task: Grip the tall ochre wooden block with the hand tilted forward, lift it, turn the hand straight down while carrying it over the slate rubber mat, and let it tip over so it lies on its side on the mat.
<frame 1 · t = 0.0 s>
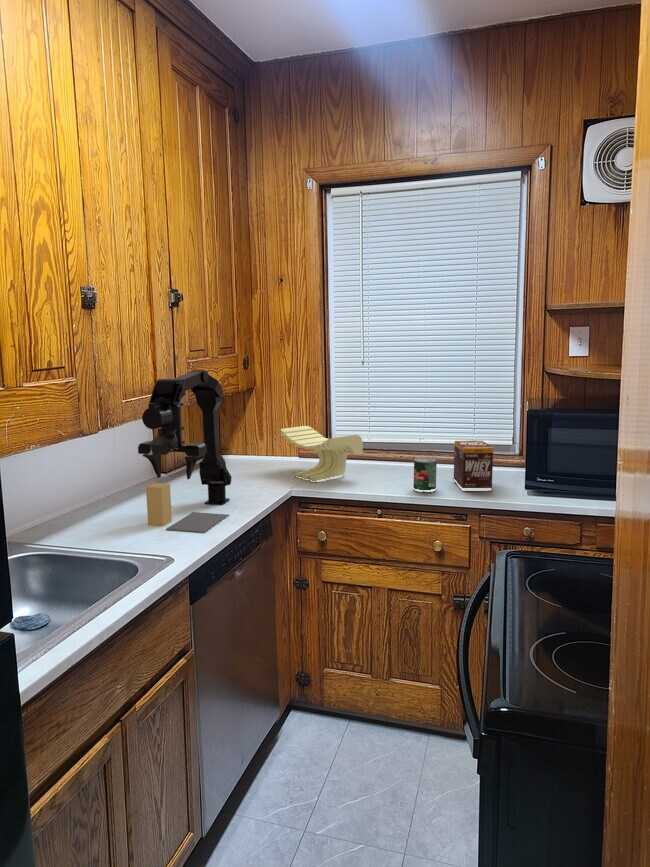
hand: (173, 478, 178), 15 cm above the worktop, tool pointing down, fingers open, 9 cm apart
slatted curved stool: (320, 477, 242), on the worktop
supplement box: (472, 487, 225), on the worktop
canned tomato: (424, 490, 220), on the worktop
ochre block: (160, 523, 185), on the worktop
slate mat: (198, 522, 185), on the worktop
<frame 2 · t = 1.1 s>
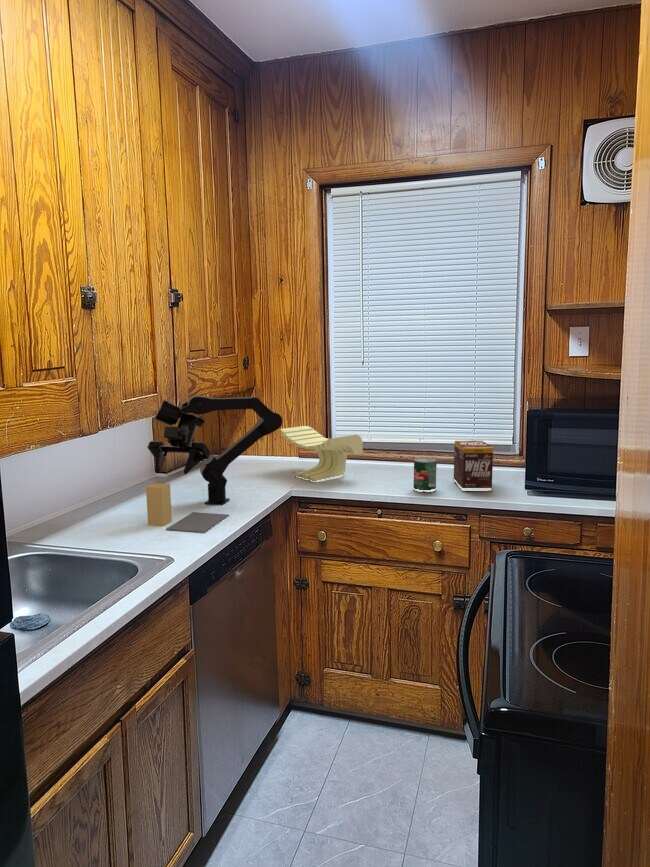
hand: (170, 473, 190), 13 cm above the worktop, tool tilted 45°, fingers open, 9 cm apart
nothing on the worktop moved.
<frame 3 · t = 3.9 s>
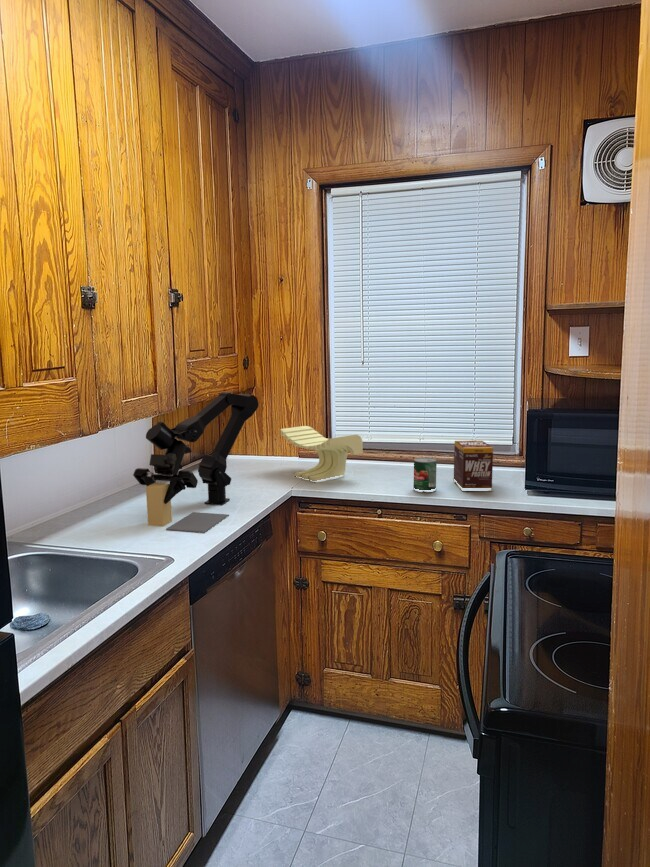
hand: (156, 502, 182), 7 cm above the worktop, tool tilted 45°, fingers closed on ochre block, 5 cm apart
ochre block: (160, 523, 185), on the worktop, touching gripper
everything else where it was.
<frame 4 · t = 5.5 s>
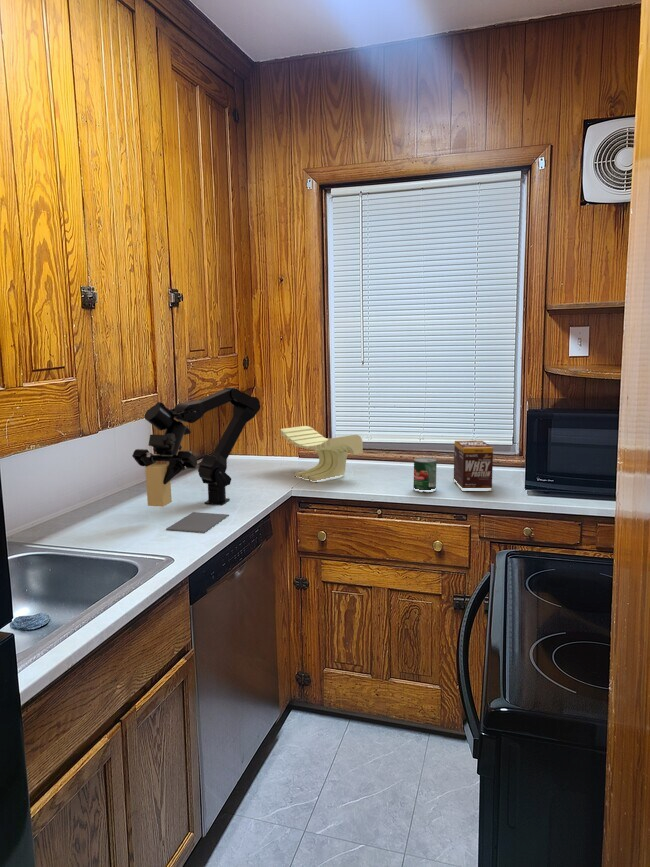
hand: (156, 483, 182), 12 cm above the worktop, tool tilted 45°, fingers closed on ochre block, 5 cm apart
ochre block: (159, 503, 184), point 6 cm above the worktop, touching gripper
everything else where it was.
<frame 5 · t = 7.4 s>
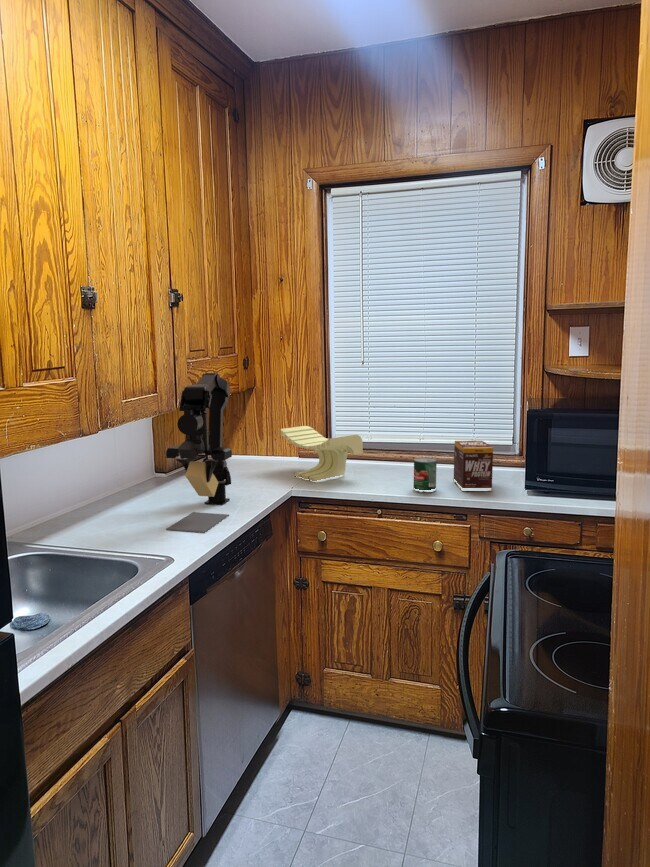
hand: (199, 481, 185), 12 cm above the worktop, tool pointing down, fingers closed on ochre block, 5 cm apart
ochre block: (208, 489, 191), point 8 cm above the worktop, tilted 45°, touching gripper
everything else where it was.
when the fingers open (7 cm above the worktop, at t = 9.3 s): ochre block moves 2 cm and tips over, resting on slate mat.
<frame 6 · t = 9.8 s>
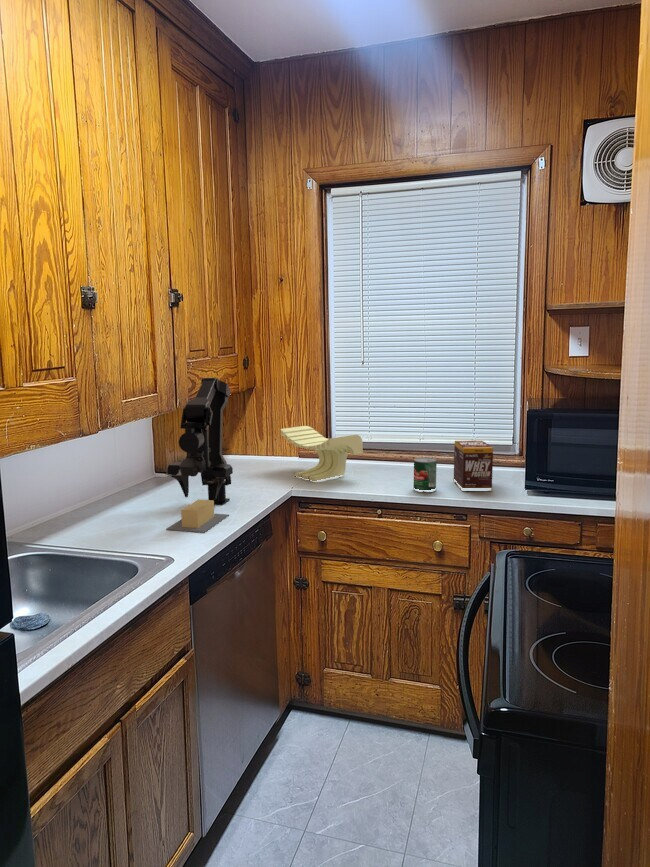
hand: (200, 497, 186), 7 cm above the worktop, tool pointing down, fingers open, 9 cm apart
ochre block: (206, 507, 190), point 3 cm above the worktop, tilted 90°, touching slate mat
everything else where it was.
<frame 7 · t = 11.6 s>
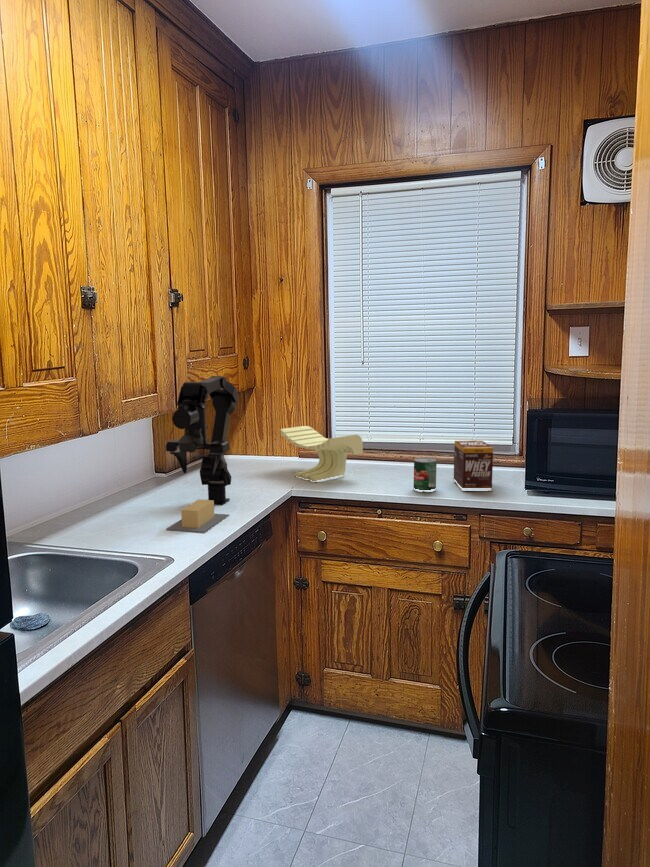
hand: (198, 473, 192), 13 cm above the worktop, tool pointing down, fingers open, 9 cm apart
nothing on the worktop moved.
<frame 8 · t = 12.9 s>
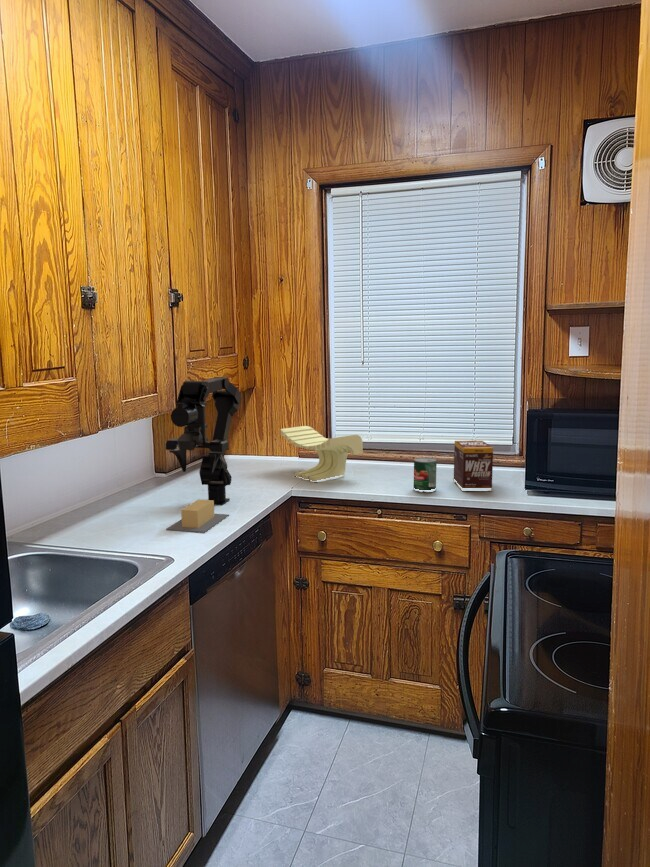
hand: (198, 472, 192), 13 cm above the worktop, tool pointing down, fingers open, 9 cm apart
nothing on the worktop moved.
at the end: ochre block tilted 90°; ochre block inside the target area on the slate mat (4.7 cm from its centre), point 2.9 cm above the slate mat's base; the gripper is holding nothing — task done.
